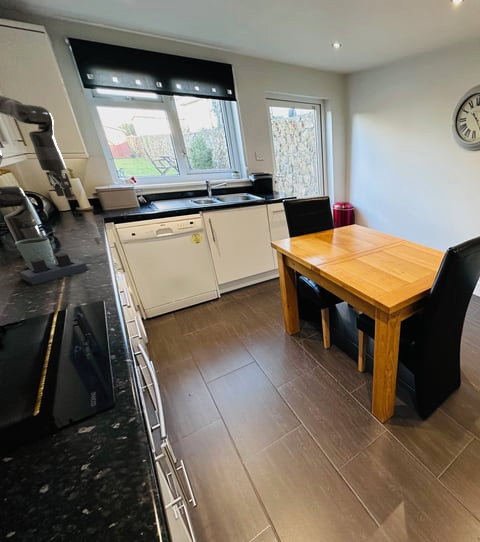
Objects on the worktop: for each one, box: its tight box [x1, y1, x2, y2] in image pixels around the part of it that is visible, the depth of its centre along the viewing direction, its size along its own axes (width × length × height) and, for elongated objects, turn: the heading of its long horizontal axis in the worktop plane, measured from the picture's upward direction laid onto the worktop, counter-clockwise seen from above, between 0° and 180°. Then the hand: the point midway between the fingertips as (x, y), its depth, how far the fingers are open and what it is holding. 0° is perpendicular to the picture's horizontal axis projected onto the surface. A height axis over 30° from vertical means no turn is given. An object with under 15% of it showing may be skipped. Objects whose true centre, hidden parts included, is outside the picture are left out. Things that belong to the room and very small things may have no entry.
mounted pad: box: [30, 258, 48, 273], centre depth 117 cm, size 4×3×8 cm
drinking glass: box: [14, 237, 56, 270], centre depth 128 cm, size 10×10×12 cm
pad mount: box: [19, 258, 89, 286], centre depth 121 cm, size 10×18×4 cm, turn 153°
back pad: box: [54, 252, 72, 267], centre depth 123 cm, size 4×3×8 cm
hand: (65, 196), depth 127 cm, fingers open, 8 cm apart
